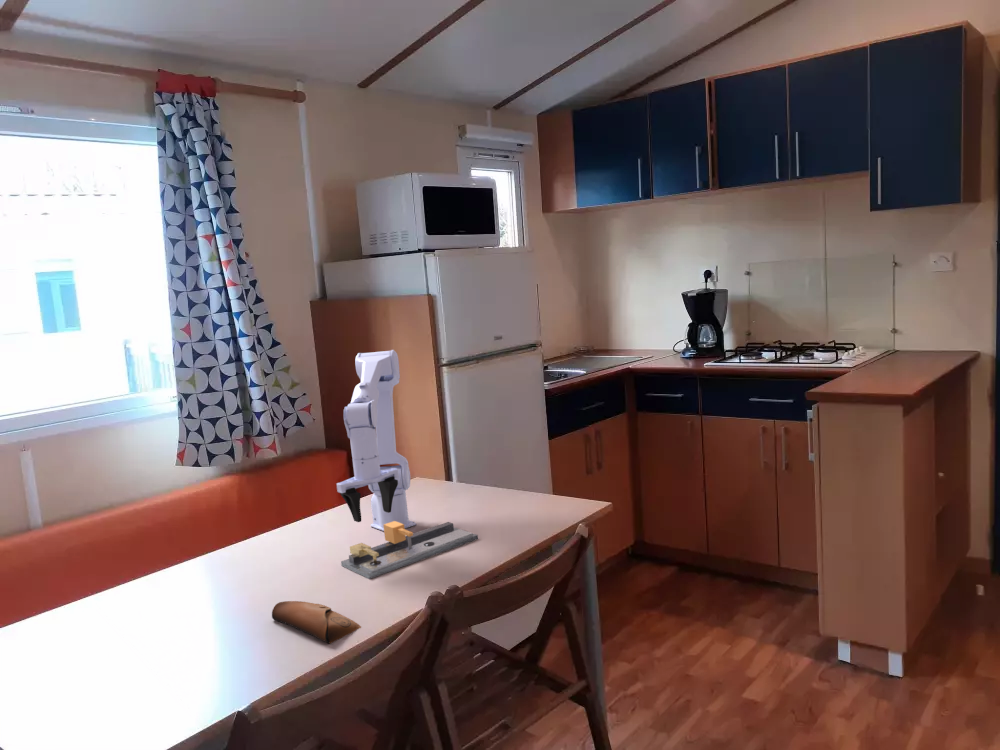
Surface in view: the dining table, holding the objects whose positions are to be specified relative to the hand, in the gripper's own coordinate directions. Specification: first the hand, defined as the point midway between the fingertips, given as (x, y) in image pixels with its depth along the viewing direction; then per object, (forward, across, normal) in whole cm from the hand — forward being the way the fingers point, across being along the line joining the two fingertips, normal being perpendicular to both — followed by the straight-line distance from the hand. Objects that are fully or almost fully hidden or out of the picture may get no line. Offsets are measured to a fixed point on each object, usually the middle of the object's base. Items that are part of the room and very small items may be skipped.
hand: (372, 516), depth 176 cm
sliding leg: (+8, +5, -2) cm, 10 cm away
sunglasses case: (+11, -25, -20) cm, 33 cm away
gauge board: (+10, +7, -3) cm, 13 cm away
